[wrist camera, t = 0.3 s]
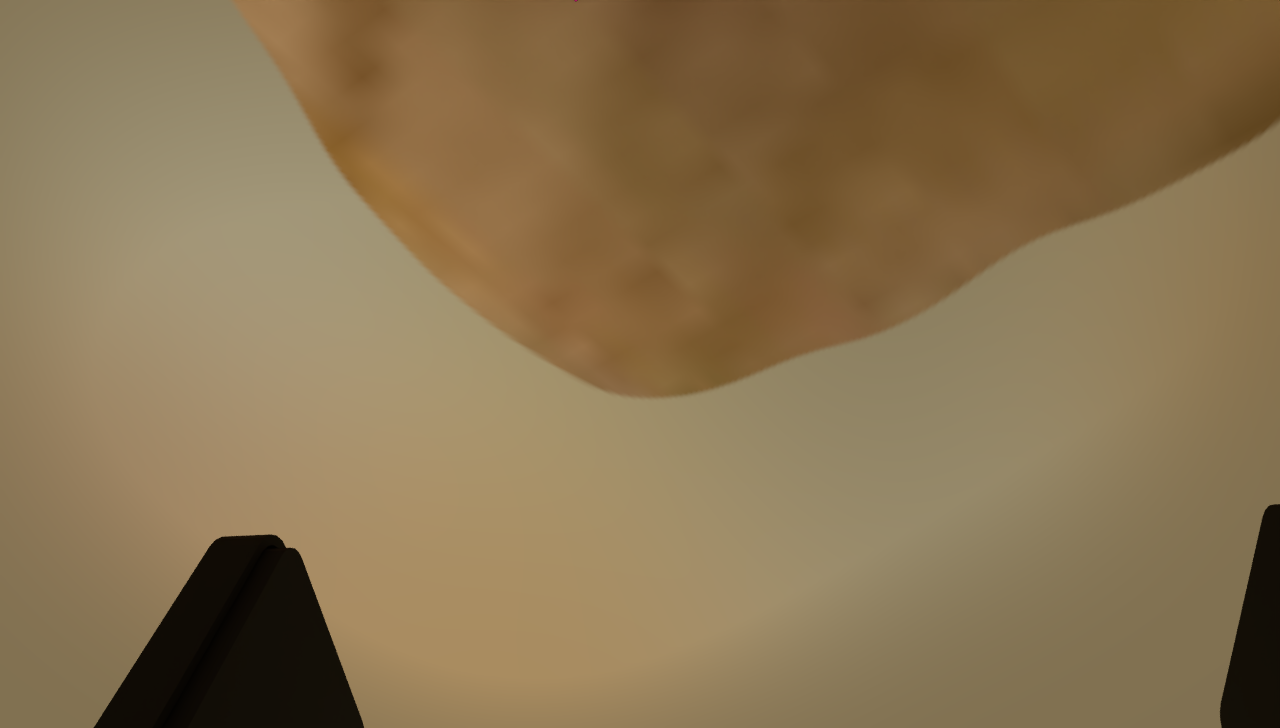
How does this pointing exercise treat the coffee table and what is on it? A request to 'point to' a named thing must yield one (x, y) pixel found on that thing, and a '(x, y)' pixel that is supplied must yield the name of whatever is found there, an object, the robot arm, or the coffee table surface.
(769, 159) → the coffee table surface
